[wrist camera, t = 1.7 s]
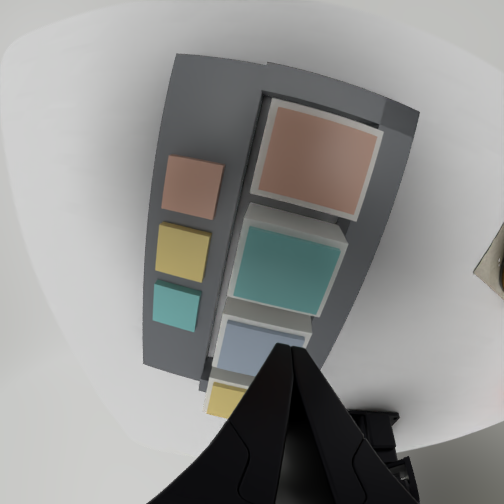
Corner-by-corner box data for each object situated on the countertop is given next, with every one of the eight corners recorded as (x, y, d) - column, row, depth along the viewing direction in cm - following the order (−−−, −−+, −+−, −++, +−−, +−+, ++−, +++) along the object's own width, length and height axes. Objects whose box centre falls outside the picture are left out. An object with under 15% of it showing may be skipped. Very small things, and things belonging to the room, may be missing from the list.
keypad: (296, 388, 24) (296, 410, 21) (149, 352, 23) (138, 372, 21) (401, 113, 14) (419, 111, 12) (184, 58, 14) (170, 49, 12)
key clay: (339, 199, 15) (358, 224, 11) (257, 177, 15) (248, 194, 11) (359, 129, 13) (386, 131, 10) (274, 105, 13) (271, 97, 10)
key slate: (289, 340, 19) (289, 386, 15) (223, 325, 19) (210, 369, 15) (307, 293, 17) (312, 337, 14) (234, 276, 17) (221, 317, 13)
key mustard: (270, 385, 21) (267, 428, 17) (212, 373, 21) (201, 414, 17) (285, 351, 19) (284, 397, 15) (220, 337, 19) (208, 380, 15)
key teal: (312, 279, 17) (319, 321, 13) (237, 260, 17) (225, 299, 13) (334, 217, 15) (350, 247, 12) (252, 195, 15) (243, 219, 12)
